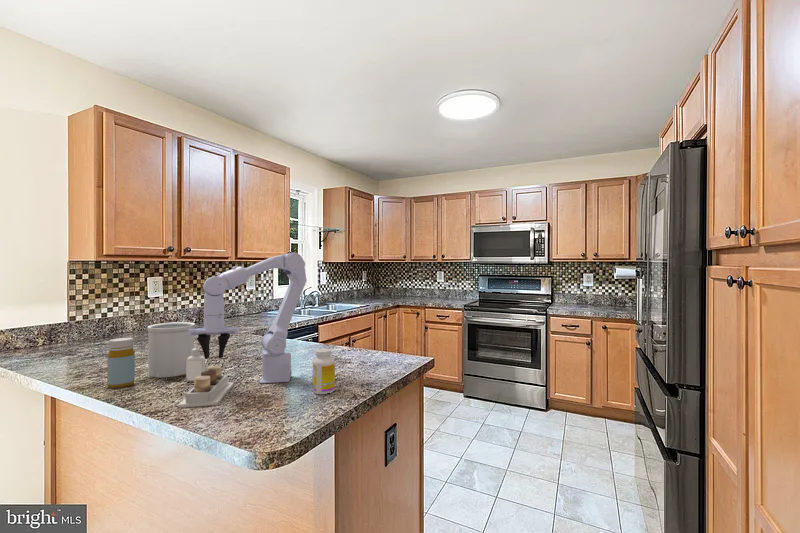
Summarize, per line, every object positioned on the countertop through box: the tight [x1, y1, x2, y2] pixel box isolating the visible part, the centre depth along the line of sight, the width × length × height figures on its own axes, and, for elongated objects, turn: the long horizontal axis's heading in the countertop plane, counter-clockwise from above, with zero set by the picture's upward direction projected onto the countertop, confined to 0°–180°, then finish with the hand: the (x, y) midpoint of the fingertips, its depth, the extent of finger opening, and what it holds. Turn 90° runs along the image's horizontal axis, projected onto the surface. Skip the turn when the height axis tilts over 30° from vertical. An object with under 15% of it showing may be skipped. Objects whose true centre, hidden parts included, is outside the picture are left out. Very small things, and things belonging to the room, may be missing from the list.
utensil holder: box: [147, 321, 196, 378], centre depth 133 cm, size 15×15×18 cm
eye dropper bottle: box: [185, 344, 206, 382], centre depth 123 cm, size 4×6×12 cm
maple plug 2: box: [206, 365, 222, 380], centre depth 114 cm, size 4×4×4 cm
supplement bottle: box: [312, 348, 336, 395], centre depth 111 cm, size 7×7×13 cm
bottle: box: [106, 337, 136, 389], centre depth 118 cm, size 7×7×15 cm
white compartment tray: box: [177, 374, 235, 409], centre depth 109 cm, size 10×18×4 cm, turn 12°
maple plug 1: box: [193, 376, 210, 393], centre depth 103 cm, size 4×4×4 cm
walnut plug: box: [201, 370, 216, 386], centre depth 109 cm, size 4×4×4 cm
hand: (214, 357), depth 114 cm, fingers open, 3 cm apart
